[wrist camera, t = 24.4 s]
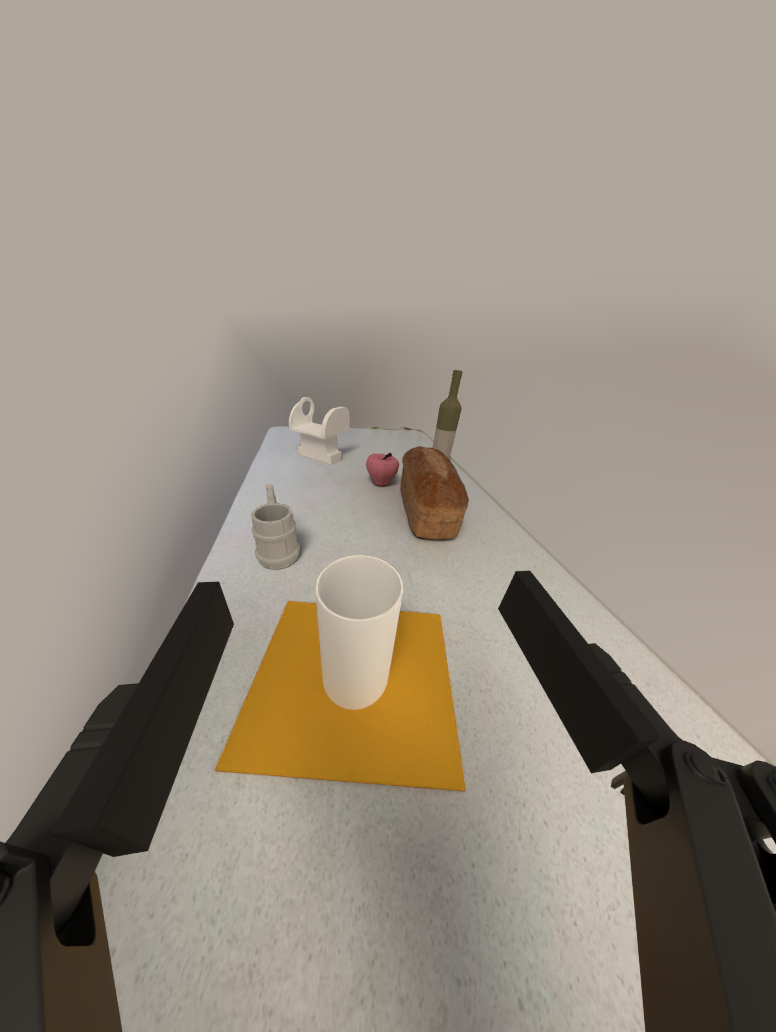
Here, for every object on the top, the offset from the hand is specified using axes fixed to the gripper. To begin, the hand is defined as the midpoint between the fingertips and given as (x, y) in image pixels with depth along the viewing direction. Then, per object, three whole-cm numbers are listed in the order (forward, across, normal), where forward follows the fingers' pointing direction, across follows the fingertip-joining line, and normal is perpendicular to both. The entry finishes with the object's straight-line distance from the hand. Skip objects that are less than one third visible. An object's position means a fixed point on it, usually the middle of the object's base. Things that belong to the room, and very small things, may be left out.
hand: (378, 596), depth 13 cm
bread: (+49, +19, -26) cm, 59 cm away
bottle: (+82, +33, -26) cm, 92 cm away
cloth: (+10, 0, -26) cm, 28 cm away
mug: (+34, -14, -26) cm, 45 cm away
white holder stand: (+84, -9, -26) cm, 89 cm away
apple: (+64, +10, -26) cm, 70 cm away
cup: (+10, 0, -26) cm, 28 cm away
